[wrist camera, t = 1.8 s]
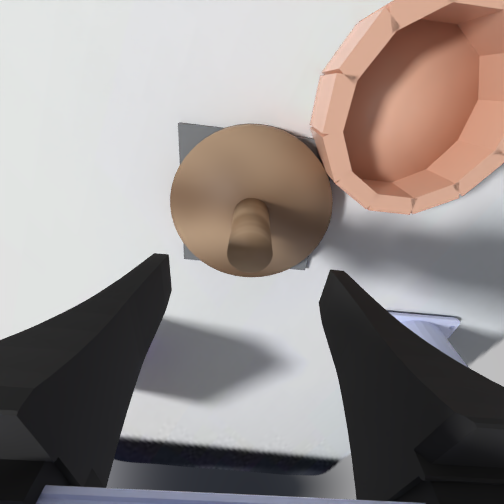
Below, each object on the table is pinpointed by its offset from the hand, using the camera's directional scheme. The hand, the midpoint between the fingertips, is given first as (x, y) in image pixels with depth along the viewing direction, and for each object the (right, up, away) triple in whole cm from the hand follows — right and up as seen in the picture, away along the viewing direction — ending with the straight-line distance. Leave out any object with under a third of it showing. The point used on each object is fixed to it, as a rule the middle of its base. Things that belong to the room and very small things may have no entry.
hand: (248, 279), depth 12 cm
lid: (0, +4, +7) cm, 8 cm away
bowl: (+9, +10, +4) cm, 14 cm away
